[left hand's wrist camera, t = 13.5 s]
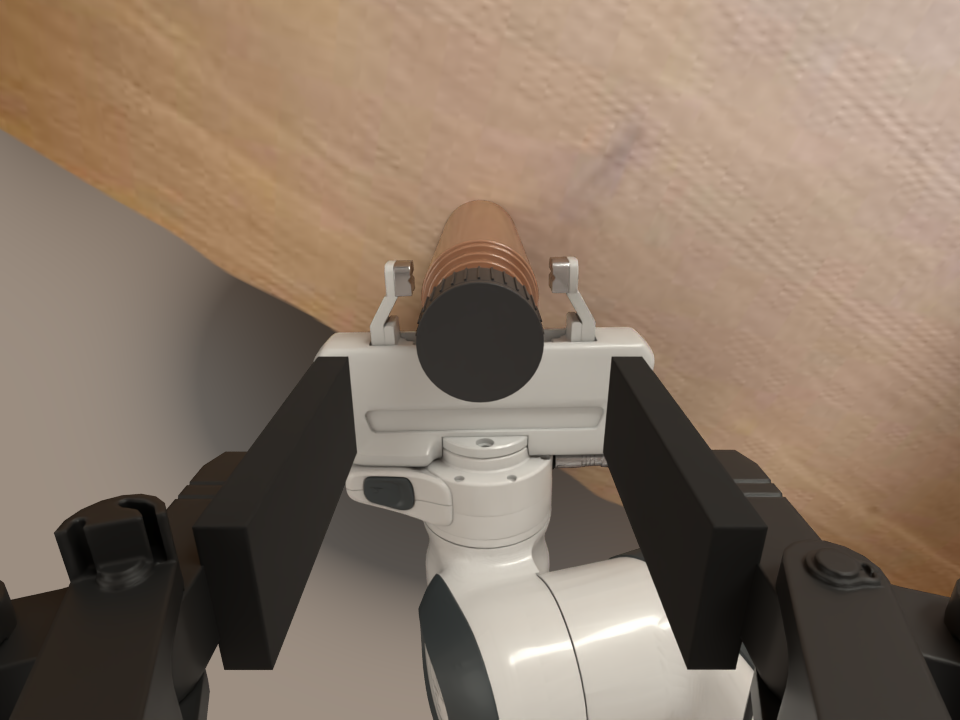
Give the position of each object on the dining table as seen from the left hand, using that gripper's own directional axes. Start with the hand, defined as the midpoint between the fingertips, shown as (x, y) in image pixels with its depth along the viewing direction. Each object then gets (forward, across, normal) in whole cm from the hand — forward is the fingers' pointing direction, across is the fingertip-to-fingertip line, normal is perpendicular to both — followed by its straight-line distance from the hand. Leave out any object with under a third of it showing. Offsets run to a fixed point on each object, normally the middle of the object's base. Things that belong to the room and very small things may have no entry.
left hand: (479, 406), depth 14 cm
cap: (+5, 0, 0) cm, 5 cm away
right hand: (+19, 0, 0) cm, 19 cm away
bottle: (+26, 0, 0) cm, 26 cm away
